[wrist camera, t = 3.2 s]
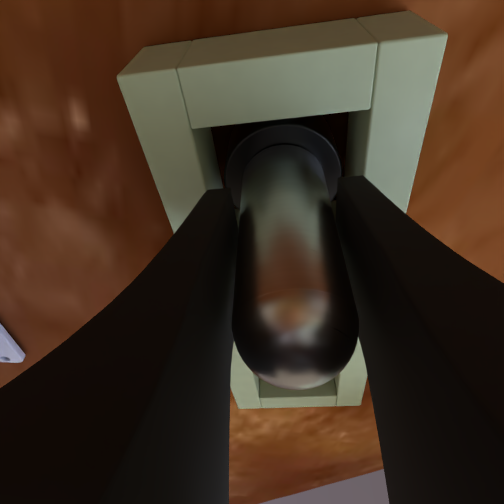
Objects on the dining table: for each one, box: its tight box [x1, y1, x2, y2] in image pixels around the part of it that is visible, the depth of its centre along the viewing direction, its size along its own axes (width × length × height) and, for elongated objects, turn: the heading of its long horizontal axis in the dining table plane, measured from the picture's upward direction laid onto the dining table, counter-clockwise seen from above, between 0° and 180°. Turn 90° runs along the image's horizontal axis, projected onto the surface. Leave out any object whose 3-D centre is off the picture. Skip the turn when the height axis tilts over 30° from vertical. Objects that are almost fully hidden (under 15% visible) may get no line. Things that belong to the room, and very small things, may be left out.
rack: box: [117, 11, 448, 409], centre depth 15 cm, size 7×18×2 cm, turn 7°
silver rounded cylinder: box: [224, 115, 359, 390], centre depth 9 cm, size 4×4×8 cm
